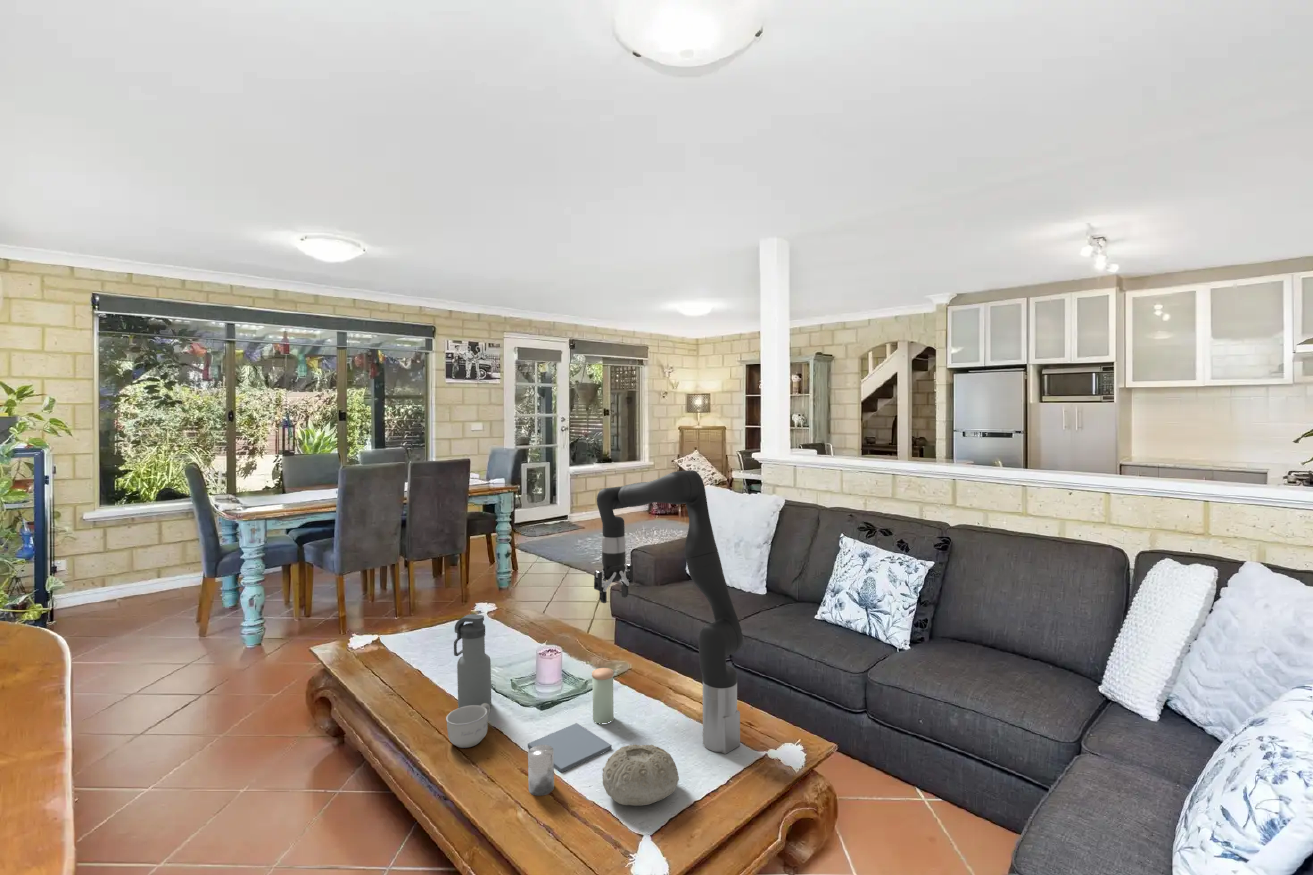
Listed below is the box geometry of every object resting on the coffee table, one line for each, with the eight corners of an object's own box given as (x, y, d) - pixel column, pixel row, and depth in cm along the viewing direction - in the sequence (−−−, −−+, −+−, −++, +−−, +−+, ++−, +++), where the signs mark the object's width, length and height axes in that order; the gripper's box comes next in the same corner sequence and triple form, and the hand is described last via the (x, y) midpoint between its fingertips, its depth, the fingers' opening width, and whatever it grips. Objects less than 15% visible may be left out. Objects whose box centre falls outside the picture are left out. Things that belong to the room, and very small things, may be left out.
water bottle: (450, 712, 188) (448, 620, 186) (467, 697, 197) (465, 610, 196) (481, 716, 185) (479, 623, 184) (497, 701, 195) (495, 612, 193)
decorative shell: (637, 763, 160) (637, 725, 160) (693, 790, 149) (693, 749, 149) (587, 797, 147) (586, 755, 146) (645, 829, 135) (644, 784, 135)
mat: (611, 748, 167) (611, 745, 167) (561, 772, 157) (561, 768, 156) (576, 726, 179) (576, 722, 179) (527, 747, 168) (527, 743, 168)
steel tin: (558, 788, 150) (558, 751, 150) (537, 799, 146) (536, 761, 146) (545, 777, 155) (544, 742, 154) (523, 787, 151) (523, 751, 150)
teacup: (462, 757, 164) (462, 727, 163) (438, 744, 170) (437, 715, 170) (505, 734, 175) (504, 706, 174) (480, 723, 181) (480, 696, 181)
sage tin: (618, 719, 183) (618, 672, 182) (601, 727, 179) (600, 679, 178) (605, 711, 187) (604, 666, 187) (588, 719, 183) (587, 672, 182)
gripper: (603, 555, 193) (603, 607, 193) (638, 548, 202) (638, 597, 203) (588, 551, 198) (589, 601, 199) (623, 544, 208) (623, 592, 209)
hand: (614, 599), depth 201 cm, fingers open, 8 cm apart
